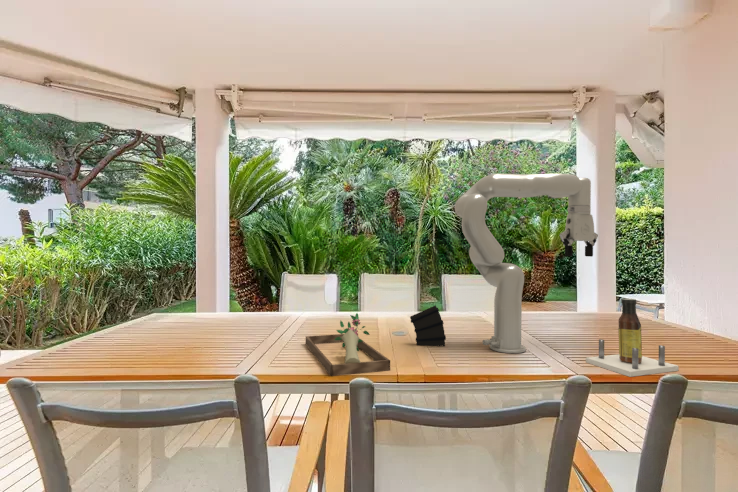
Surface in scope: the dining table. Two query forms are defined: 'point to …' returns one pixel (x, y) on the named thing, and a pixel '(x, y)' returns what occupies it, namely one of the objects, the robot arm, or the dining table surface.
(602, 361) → the standoff base
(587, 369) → the dining table surface
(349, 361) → the flower vase
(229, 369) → the dining table surface
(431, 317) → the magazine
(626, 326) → the sauce bottle
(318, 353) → the wooden frame
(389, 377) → the dining table surface
